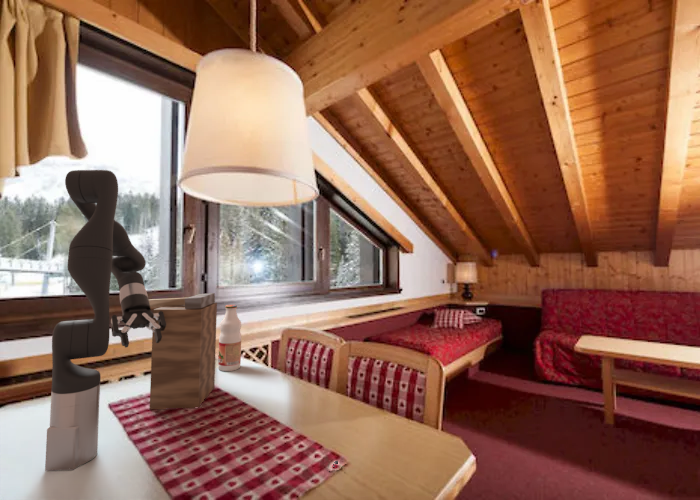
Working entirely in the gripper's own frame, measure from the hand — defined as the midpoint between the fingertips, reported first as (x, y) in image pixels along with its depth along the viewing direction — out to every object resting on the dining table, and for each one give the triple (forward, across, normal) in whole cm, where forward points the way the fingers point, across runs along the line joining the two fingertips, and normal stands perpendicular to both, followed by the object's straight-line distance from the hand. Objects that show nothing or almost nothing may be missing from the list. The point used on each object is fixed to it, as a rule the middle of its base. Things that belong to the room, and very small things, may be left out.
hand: (143, 343), depth 99 cm
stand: (+8, +16, +25) cm, 31 cm away
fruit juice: (-6, +42, +40) cm, 58 cm away
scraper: (-16, +12, +5) cm, 21 cm away
